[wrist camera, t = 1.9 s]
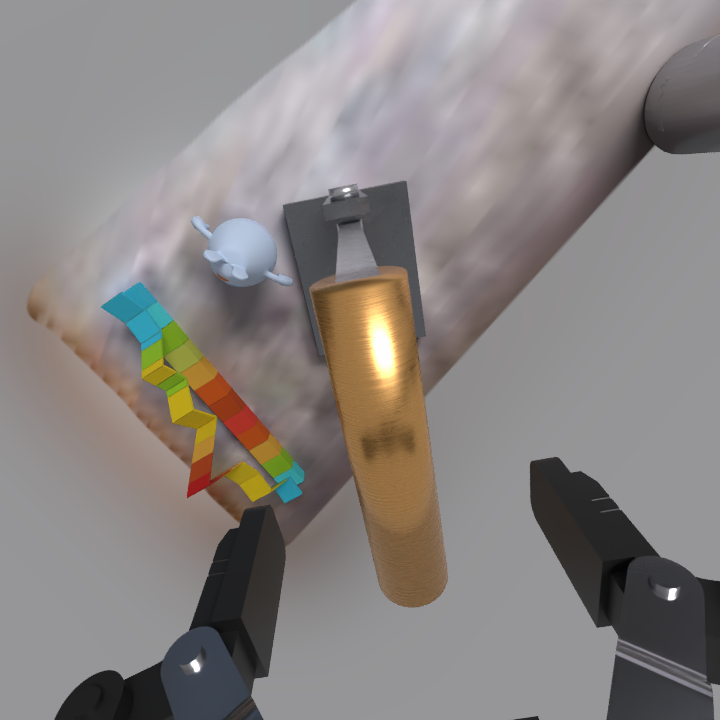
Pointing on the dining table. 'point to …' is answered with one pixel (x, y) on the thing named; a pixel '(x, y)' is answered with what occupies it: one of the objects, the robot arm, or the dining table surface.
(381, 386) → the lever
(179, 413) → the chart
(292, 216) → the lever stand
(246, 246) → the toy figure
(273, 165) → the dining table surface
